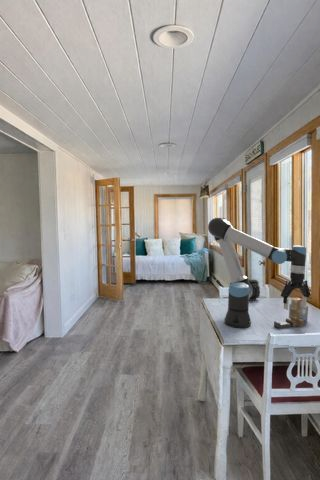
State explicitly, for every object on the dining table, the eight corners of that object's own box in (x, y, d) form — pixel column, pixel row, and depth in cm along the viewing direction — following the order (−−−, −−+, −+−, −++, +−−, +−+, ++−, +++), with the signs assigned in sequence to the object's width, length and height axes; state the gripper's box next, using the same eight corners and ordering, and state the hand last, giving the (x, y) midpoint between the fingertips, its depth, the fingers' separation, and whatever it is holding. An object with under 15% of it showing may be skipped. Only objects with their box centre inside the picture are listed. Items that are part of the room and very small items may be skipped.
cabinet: (298, 321, 190) (299, 307, 189) (288, 318, 197) (289, 304, 196) (307, 320, 192) (308, 306, 192) (297, 317, 199) (298, 303, 199)
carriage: (293, 326, 179) (294, 301, 178) (285, 323, 185) (286, 298, 184) (303, 325, 182) (305, 300, 181) (296, 322, 188) (297, 297, 187)
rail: (278, 328, 177) (279, 323, 176) (273, 326, 180) (274, 320, 180) (305, 325, 184) (306, 319, 184) (300, 323, 188) (300, 317, 187)
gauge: (298, 310, 191) (299, 300, 191) (293, 308, 195) (293, 298, 195) (304, 309, 193) (304, 299, 193) (298, 307, 197) (299, 297, 197)
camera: (260, 301, 235) (260, 282, 234) (245, 300, 237) (246, 281, 236) (258, 298, 245) (259, 279, 244) (244, 297, 247) (245, 278, 246)
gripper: (285, 274, 173) (282, 311, 175) (318, 273, 182) (316, 308, 184) (275, 271, 180) (273, 307, 182) (308, 270, 189) (305, 305, 191)
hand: (294, 308), depth 183 cm, fingers open, 13 cm apart
